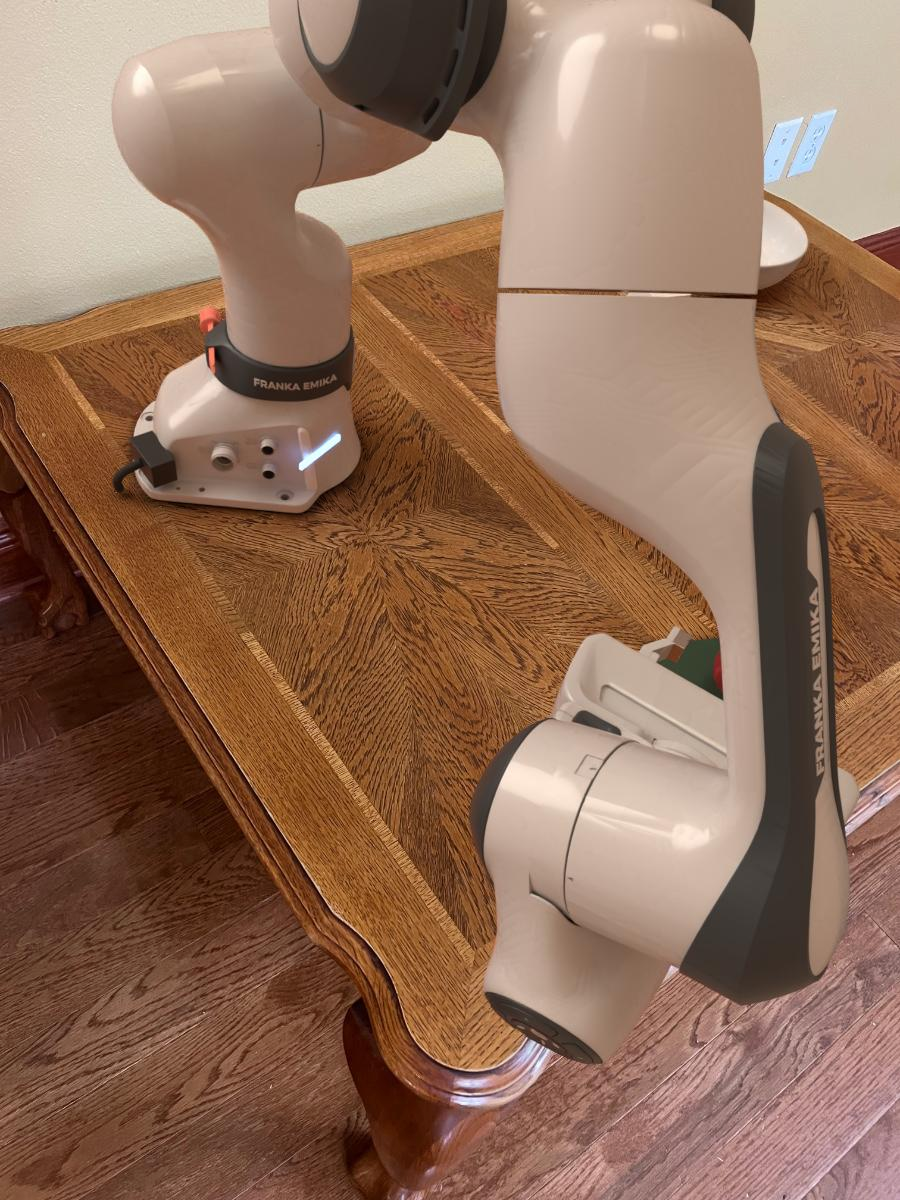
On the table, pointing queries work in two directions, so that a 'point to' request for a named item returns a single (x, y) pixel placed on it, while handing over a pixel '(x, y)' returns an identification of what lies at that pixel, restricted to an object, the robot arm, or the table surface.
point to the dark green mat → (697, 664)
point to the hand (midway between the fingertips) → (740, 668)
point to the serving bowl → (780, 245)
